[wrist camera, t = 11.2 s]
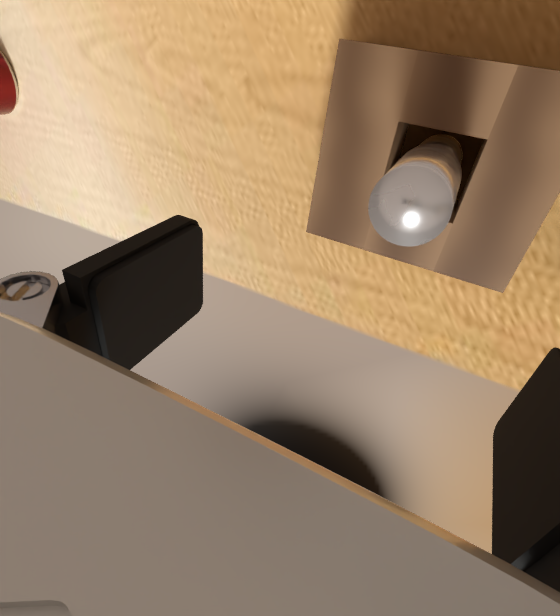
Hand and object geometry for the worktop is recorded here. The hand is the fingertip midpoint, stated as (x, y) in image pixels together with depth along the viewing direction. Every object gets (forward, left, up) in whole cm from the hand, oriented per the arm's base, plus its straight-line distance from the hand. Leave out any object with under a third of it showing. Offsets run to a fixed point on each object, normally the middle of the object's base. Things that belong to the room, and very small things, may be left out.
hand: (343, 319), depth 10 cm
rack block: (0, 0, -22) cm, 22 cm away
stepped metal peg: (0, 0, -22) cm, 22 cm away
